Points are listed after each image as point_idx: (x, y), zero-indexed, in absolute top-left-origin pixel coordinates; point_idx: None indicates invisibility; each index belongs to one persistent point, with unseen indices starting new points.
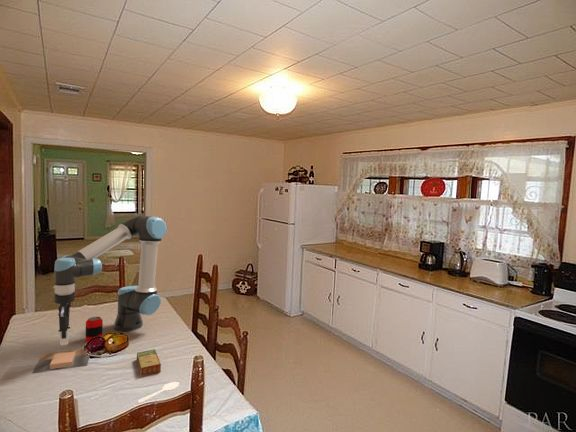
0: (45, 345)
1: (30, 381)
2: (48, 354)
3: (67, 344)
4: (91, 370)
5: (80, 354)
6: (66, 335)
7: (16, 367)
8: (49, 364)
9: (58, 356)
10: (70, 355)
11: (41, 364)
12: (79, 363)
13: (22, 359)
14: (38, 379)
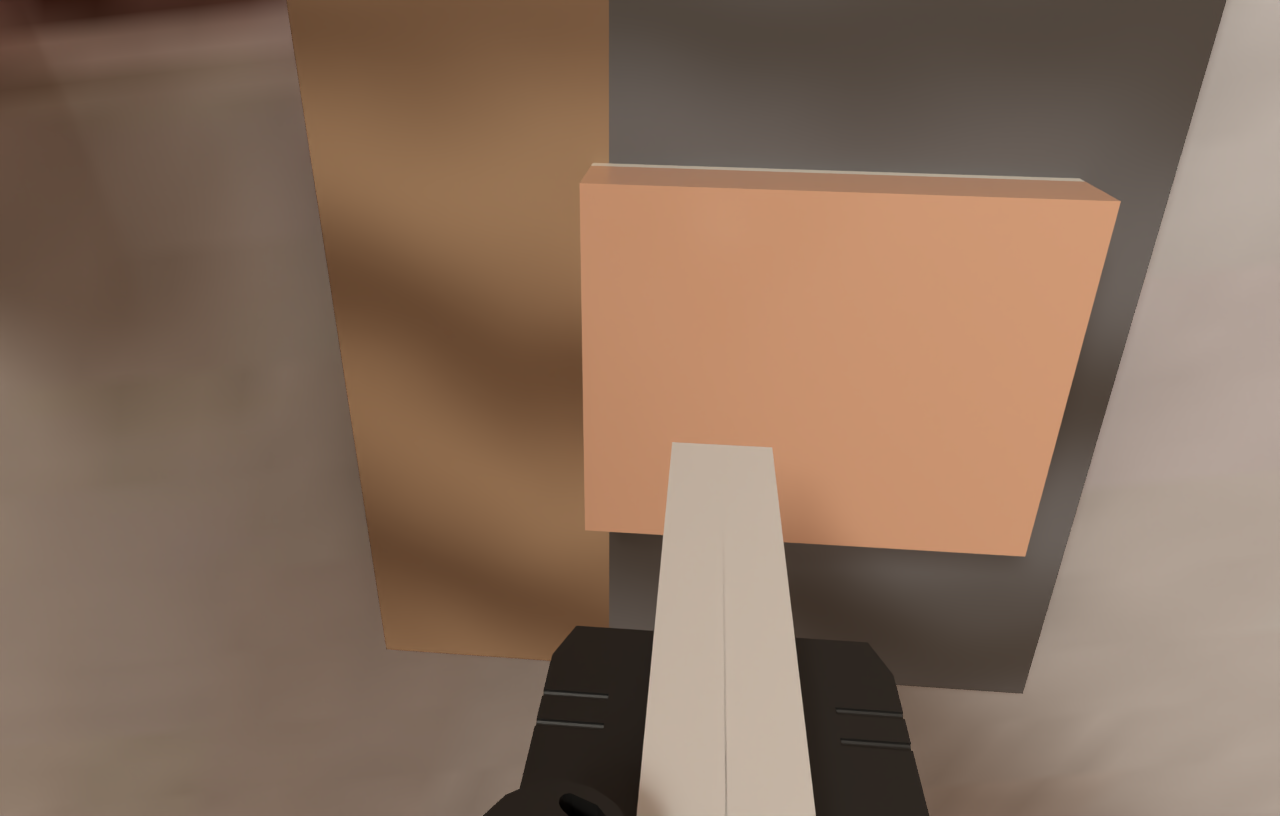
0: (12, 623)
1: (1165, 657)
2: (418, 578)
3: (766, 448)
4: None
5: (567, 62)
6: (790, 678)
7: None
8: None
9: None
10: (765, 263)
11: None
12: (1041, 33)
13: (430, 788)
14: (1166, 584)
